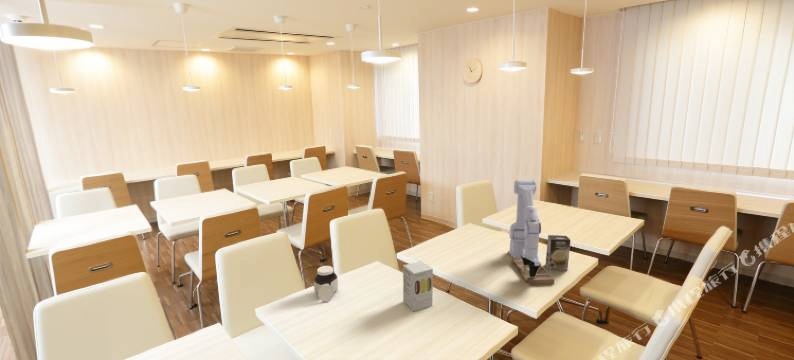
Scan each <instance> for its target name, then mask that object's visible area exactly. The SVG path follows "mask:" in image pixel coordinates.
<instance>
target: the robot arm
mask: <svg viewBox="0 0 794 360" xmlns="http://www.w3.org/2000/svg"><path fill="white" fill-rule="evenodd" d="M536 191H537V182H536V180H534V179H533V180H532V179H531V180H527V179H523V180H522V179H521V180H518V179H515V180H514V183H513V193H514V194H516V195H517V201H516V202H517V203H516V204H517V205H516V216H515V217H516V220H515V221H516V222H514V223H512V224H511V225H510V227H509V239H510V241H509V250H507V253H509V255H510V256H511V258H522V260H523V264H524V265H528V266H529V271H530V277H535V275H536V273H537V270H538V268H539V267H540V266H542V264H541V261H540V260H539V255H538V254H539V239H540V238H539V237H540V234H541V233H542V232H541V231H542V223H541V221H540V219H539V218H538V211H537V208H536V207H535V206H534V197H533V196H534V195H535V193H536Z"/></svg>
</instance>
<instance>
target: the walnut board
mask: <svg viewBox="0 0 794 360" xmlns="http://www.w3.org/2000/svg"><path fill="white" fill-rule="evenodd" d="M510 260H511V261H510V263H511V265H512V266H513V267H514V268H515V269H516V270H517V271H518V273H519V274H520V275H521V276H522V267H523V265H524V264H523V260H522V258H513V257H511V259H510ZM539 268H541V270H540V274H539V270H537V273H536V277H534V278H528V281H526V282H527V283H528V284H529V285H530V286H541V285H554V284H555V279H554V277H553V276H552V275H551V274H550V273H549V272H548V271H547V270H546V269H545V268H544V267H543V266H542V265H541V266H540V267H539Z"/></svg>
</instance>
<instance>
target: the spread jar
mask: <svg viewBox="0 0 794 360" xmlns="http://www.w3.org/2000/svg"><path fill="white" fill-rule="evenodd" d="M316 272H317V273H316V275H315V276H314V278H313V288H314V291H315V294H316V295H317V296H318V298H319V299H320V300H321V301H322V302H325V303H326V302H329V301H331V300H332V299H333V298H334V296H335V293H337V291H338V288H339V279H338V275H337V274H336V273H335V272H334V268H333V267H332V266H331V265H322V266H320V267H318V268H317V270H316ZM320 300H319V301H320Z"/></svg>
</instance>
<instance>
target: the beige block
mask: <svg viewBox="0 0 794 360" xmlns="http://www.w3.org/2000/svg"><path fill="white" fill-rule="evenodd" d="M538 270H539V274H540V270H541V268H538ZM521 276H522V278H523V279H524V280H525V281H526V282H527V281H528V278H534V277H530V271H529V266H528V265H523V267H522V275H521ZM535 277H536V275H535Z"/></svg>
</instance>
